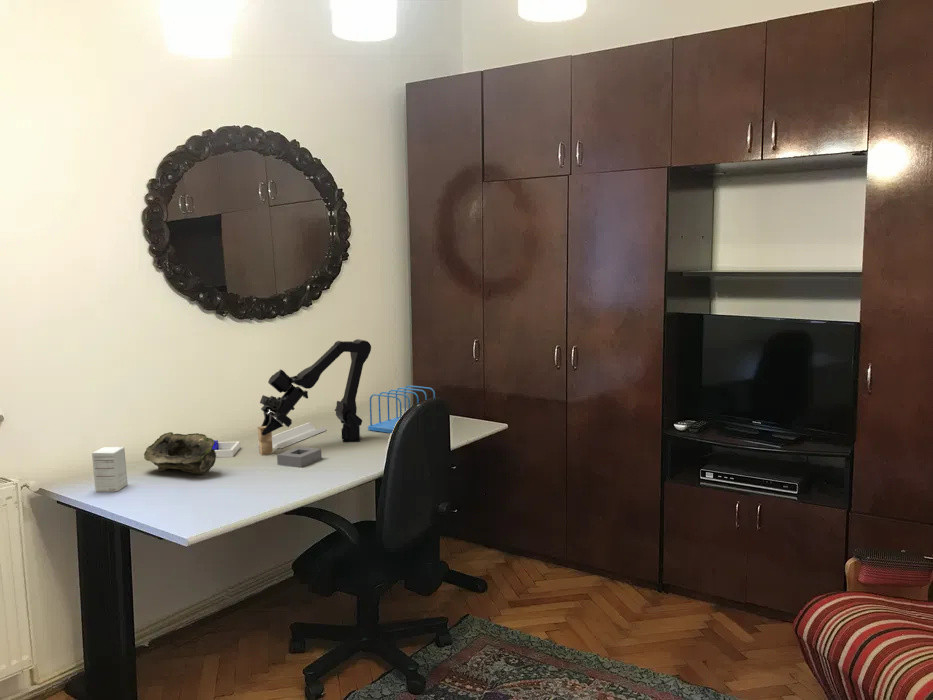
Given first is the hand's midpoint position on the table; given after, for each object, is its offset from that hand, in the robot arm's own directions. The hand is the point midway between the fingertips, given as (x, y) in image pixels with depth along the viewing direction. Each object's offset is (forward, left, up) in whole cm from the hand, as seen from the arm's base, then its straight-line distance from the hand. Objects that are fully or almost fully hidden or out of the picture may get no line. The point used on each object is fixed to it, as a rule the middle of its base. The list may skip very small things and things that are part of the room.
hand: (261, 433), depth 289 cm
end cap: (-15, +12, -8) cm, 21 cm away
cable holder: (+19, -5, -8) cm, 21 cm away
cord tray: (+17, -5, -8) cm, 19 cm away
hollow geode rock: (+23, +20, -8) cm, 31 cm away
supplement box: (+41, +35, -8) cm, 55 cm away
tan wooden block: (-1, -1, -8) cm, 8 cm away
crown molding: (-7, -23, -8) cm, 26 cm away
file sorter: (-51, -37, -8) cm, 63 cm away
